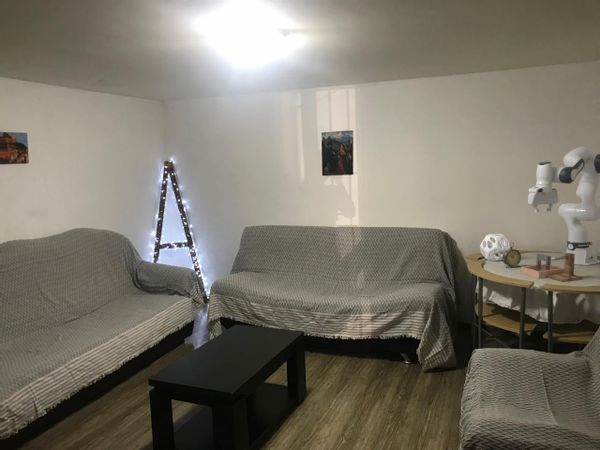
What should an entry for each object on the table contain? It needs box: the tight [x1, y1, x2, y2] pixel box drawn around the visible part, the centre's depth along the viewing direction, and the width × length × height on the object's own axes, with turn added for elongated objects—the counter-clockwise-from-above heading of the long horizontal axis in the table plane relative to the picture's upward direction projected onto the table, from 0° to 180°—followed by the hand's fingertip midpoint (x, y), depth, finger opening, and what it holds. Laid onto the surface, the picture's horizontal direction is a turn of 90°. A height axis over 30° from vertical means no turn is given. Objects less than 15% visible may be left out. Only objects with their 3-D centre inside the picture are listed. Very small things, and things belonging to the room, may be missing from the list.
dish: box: [520, 263, 564, 279], centre depth 288 cm, size 20×14×4 cm
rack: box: [547, 252, 582, 283], centre depth 276 cm, size 17×10×14 cm, turn 108°
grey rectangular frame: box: [535, 253, 552, 271], centre depth 288 cm, size 2×8×10 cm, turn 18°
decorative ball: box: [479, 233, 512, 262], centre depth 329 cm, size 20×20×17 cm
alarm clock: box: [502, 241, 522, 269], centre depth 307 cm, size 11×5×16 cm, turn 101°
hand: (542, 211), depth 290 cm, fingers open, 8 cm apart
